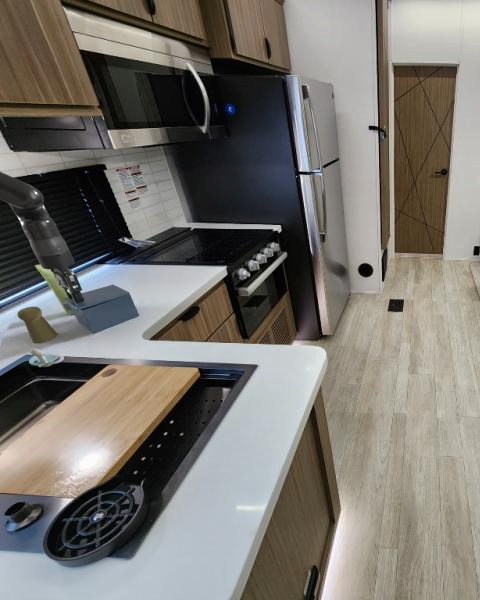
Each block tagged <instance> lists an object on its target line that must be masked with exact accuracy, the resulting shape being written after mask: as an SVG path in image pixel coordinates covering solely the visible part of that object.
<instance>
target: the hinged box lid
mask: <svg viewBox="0 0 480 600" xmlns="http://www.w3.org/2000/svg"><path fill="white" fill-rule="evenodd" d="M66 291H67V292H68V293H70V292H69V290H68V288H67V289H66ZM70 294H71V293H70ZM81 294H82V296H83V298H84V300H85V301H84V302H81V303H76V302H75V301H74V299H73V297H72V299H69V298H68V297H66V298H63V299H62V300H63V301H64V302H66V303H68V304H69V305H71V306H72V307H74V308H75V309H77V310H80V309H83V308H87V307H90V306H93V305H96V304H100V303H103V302H106V301H109V300H113V299H116V298H119V297H123V296H126V295H129V294H130V295H131V293H130V291H128V290H126V289H123V288H121V287H119V286H117V285H115V284H110V285H107V286H103V287H99V288H95V289H92V290H88V291H85V292H81ZM71 296H72V295H71Z"/></svg>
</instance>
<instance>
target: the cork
mask: <svg viewBox="0 0 480 600" xmlns="http://www.w3.org/2000/svg"><path fill="white" fill-rule="evenodd" d="M17 318H18V319H20V320H21V321H23V322H24V324H25V327H26V330H27V333H28V335H29V337H30V340H31V342H32V343H33V344H41V343H45V342H48V341H51V340H53V339H55V338H57V336H58V332H56V330H55V329H54V328H53V327H52V325H51V324H50V323H49V322H48V321H47V319H46V318H45V317H44V316H43V311H42V309H41V308H40V307H38V306H28V307H24V308H22V309H20V310H18V311H17Z"/></svg>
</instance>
